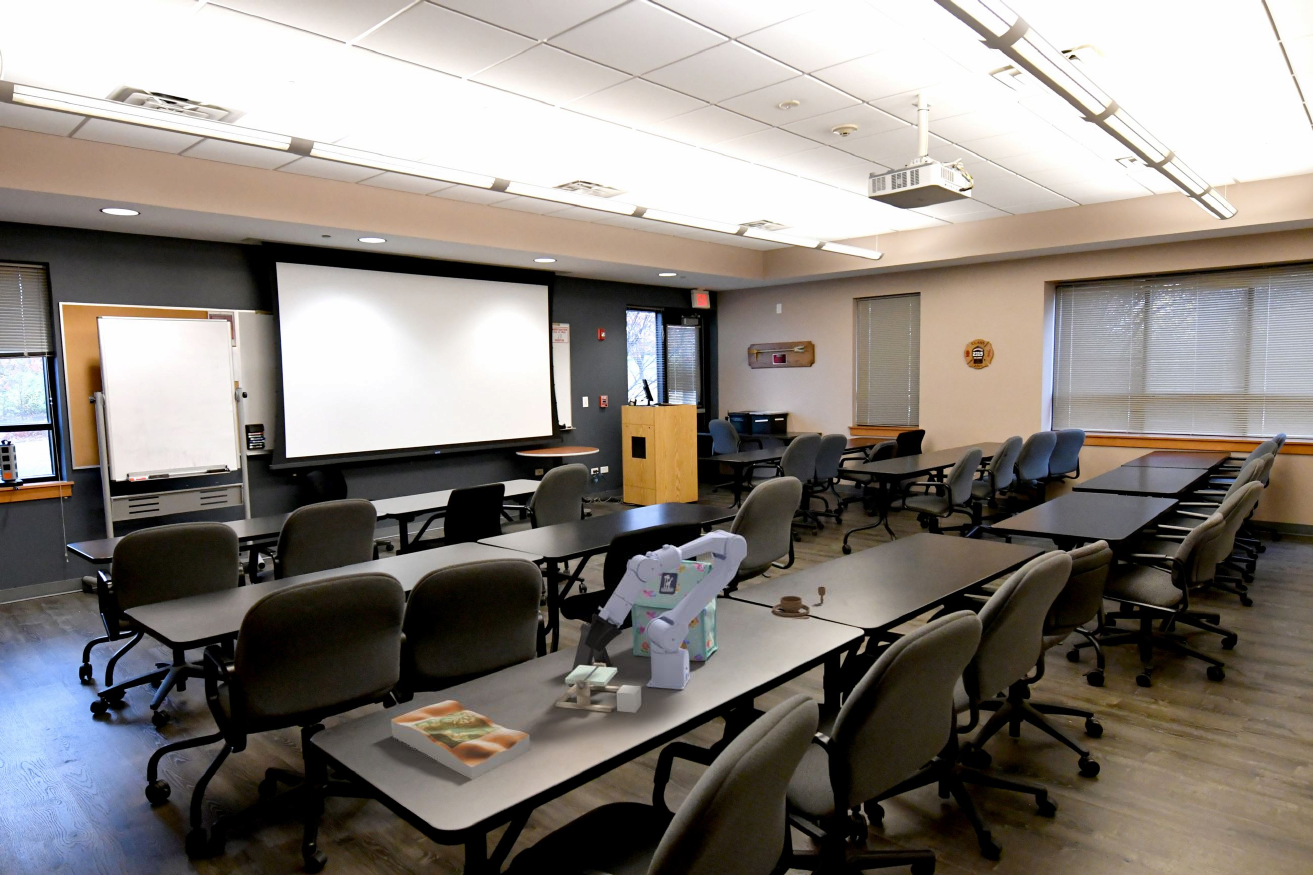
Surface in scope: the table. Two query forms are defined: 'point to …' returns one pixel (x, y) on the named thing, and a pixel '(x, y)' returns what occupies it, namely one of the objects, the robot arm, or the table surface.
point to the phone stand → (589, 651)
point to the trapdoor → (591, 675)
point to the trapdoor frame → (585, 695)
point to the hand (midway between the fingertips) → (592, 648)
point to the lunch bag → (666, 597)
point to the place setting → (795, 605)
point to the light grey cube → (629, 698)
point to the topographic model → (460, 738)
